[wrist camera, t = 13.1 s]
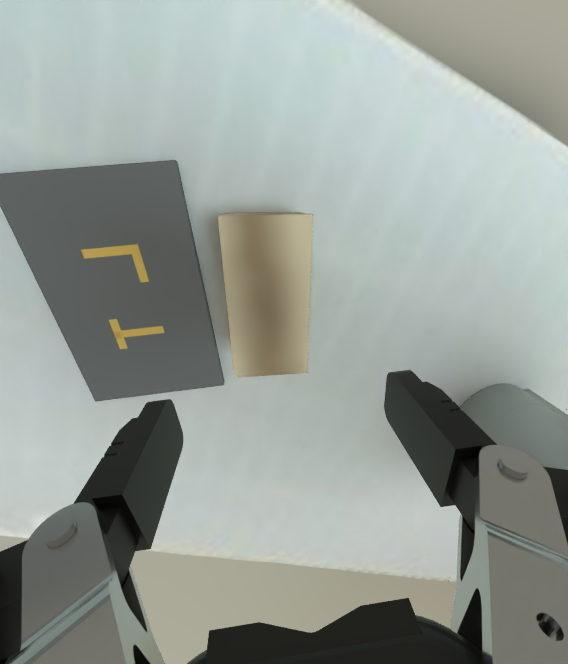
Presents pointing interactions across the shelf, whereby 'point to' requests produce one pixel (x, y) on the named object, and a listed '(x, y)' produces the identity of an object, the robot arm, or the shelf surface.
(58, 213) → the picture tile
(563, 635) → the robot arm
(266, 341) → the maple block
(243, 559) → the shelf surface
